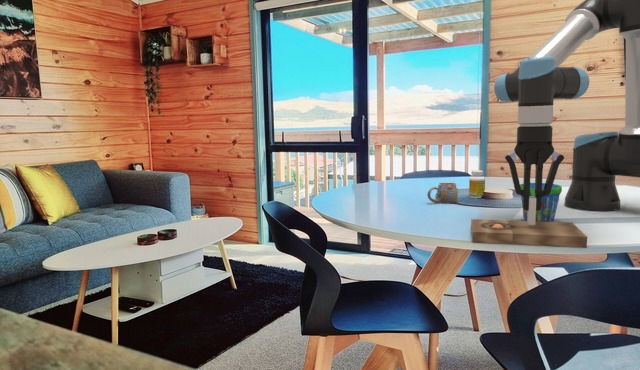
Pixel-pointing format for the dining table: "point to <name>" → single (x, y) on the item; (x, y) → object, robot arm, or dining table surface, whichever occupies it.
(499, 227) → the ball
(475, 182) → the supplement bottle
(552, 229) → the wooden board
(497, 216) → the dining table surface
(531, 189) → the snack cup
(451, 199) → the mug
